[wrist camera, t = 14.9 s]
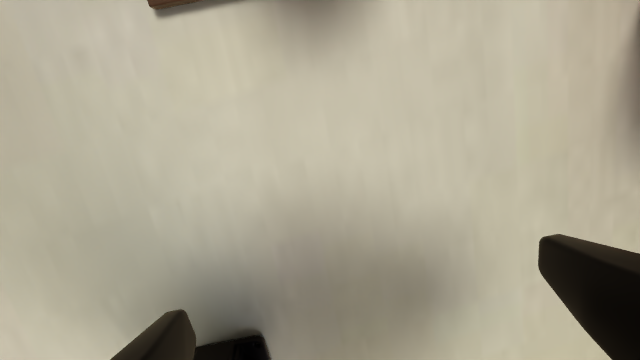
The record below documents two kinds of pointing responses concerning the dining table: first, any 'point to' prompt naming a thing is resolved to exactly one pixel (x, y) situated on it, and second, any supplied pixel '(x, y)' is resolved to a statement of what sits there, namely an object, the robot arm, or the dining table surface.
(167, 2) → the brown and green board
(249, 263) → the dining table surface
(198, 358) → the robot arm
